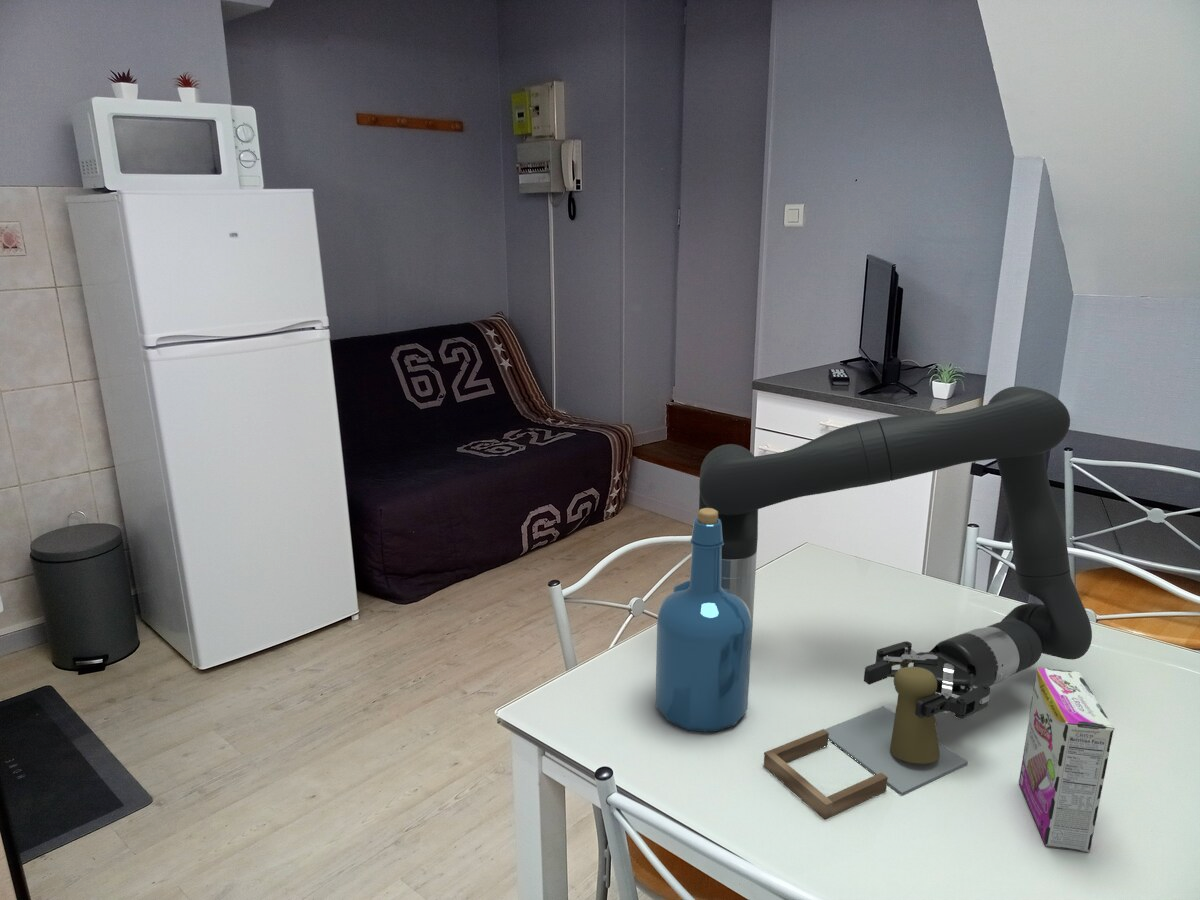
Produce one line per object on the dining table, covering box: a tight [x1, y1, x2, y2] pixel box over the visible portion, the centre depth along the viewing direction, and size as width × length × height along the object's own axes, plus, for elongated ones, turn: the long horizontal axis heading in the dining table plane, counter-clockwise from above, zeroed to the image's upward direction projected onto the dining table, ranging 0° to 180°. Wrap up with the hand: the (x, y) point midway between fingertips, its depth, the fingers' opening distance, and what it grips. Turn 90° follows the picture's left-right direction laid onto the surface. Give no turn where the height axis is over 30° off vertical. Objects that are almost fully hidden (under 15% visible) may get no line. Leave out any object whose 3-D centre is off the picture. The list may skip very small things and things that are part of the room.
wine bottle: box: [655, 508, 753, 733], centre depth 113 cm, size 14×13×30 cm
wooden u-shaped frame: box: [763, 728, 888, 820], centre depth 103 cm, size 11×10×2 cm
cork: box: [890, 666, 940, 764], centre depth 106 cm, size 6×6×11 cm
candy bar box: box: [1018, 667, 1115, 853], centre depth 94 cm, size 11×5×16 cm, turn 168°
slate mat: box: [823, 705, 969, 796], centre depth 109 cm, size 14×12×1 cm
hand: (891, 693), depth 106 cm, fingers open, 8 cm apart
